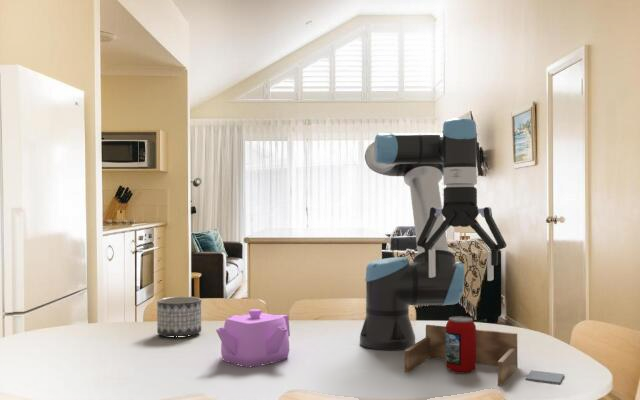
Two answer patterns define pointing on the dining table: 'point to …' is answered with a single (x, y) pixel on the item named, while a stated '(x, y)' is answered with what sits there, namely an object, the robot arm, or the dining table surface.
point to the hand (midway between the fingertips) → (460, 278)
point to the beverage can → (461, 344)
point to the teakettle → (255, 338)
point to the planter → (179, 316)
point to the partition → (488, 350)
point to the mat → (545, 377)
